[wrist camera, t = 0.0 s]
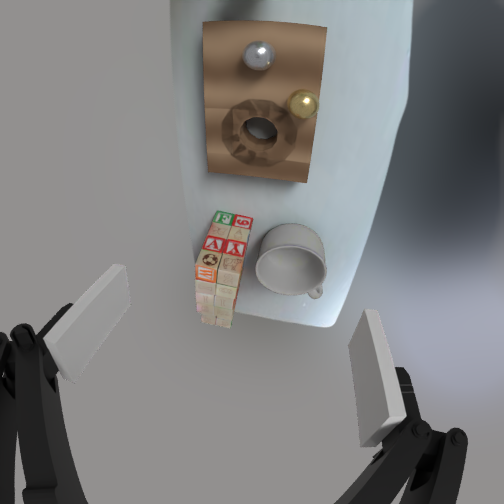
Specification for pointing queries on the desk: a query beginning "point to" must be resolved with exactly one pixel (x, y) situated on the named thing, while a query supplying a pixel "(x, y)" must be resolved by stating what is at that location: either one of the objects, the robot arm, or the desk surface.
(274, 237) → the teacup
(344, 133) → the desk surface
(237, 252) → the stack of blocks
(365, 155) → the desk surface
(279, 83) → the wooden board
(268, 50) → the ball
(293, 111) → the brass ball
